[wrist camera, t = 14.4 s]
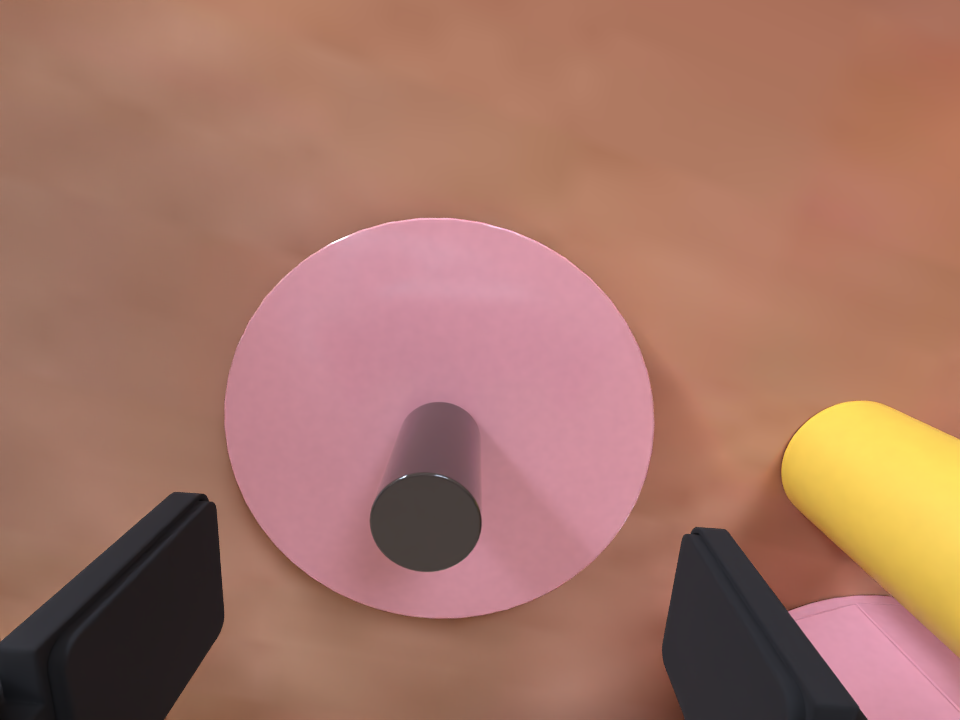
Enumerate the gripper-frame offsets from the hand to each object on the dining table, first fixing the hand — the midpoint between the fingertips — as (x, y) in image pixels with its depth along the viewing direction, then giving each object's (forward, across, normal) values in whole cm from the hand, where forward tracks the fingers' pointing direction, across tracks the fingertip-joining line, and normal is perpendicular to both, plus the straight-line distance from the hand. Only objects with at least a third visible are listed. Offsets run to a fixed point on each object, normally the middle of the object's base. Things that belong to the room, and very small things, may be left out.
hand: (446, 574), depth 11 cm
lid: (+7, +1, 0) cm, 7 cm away
